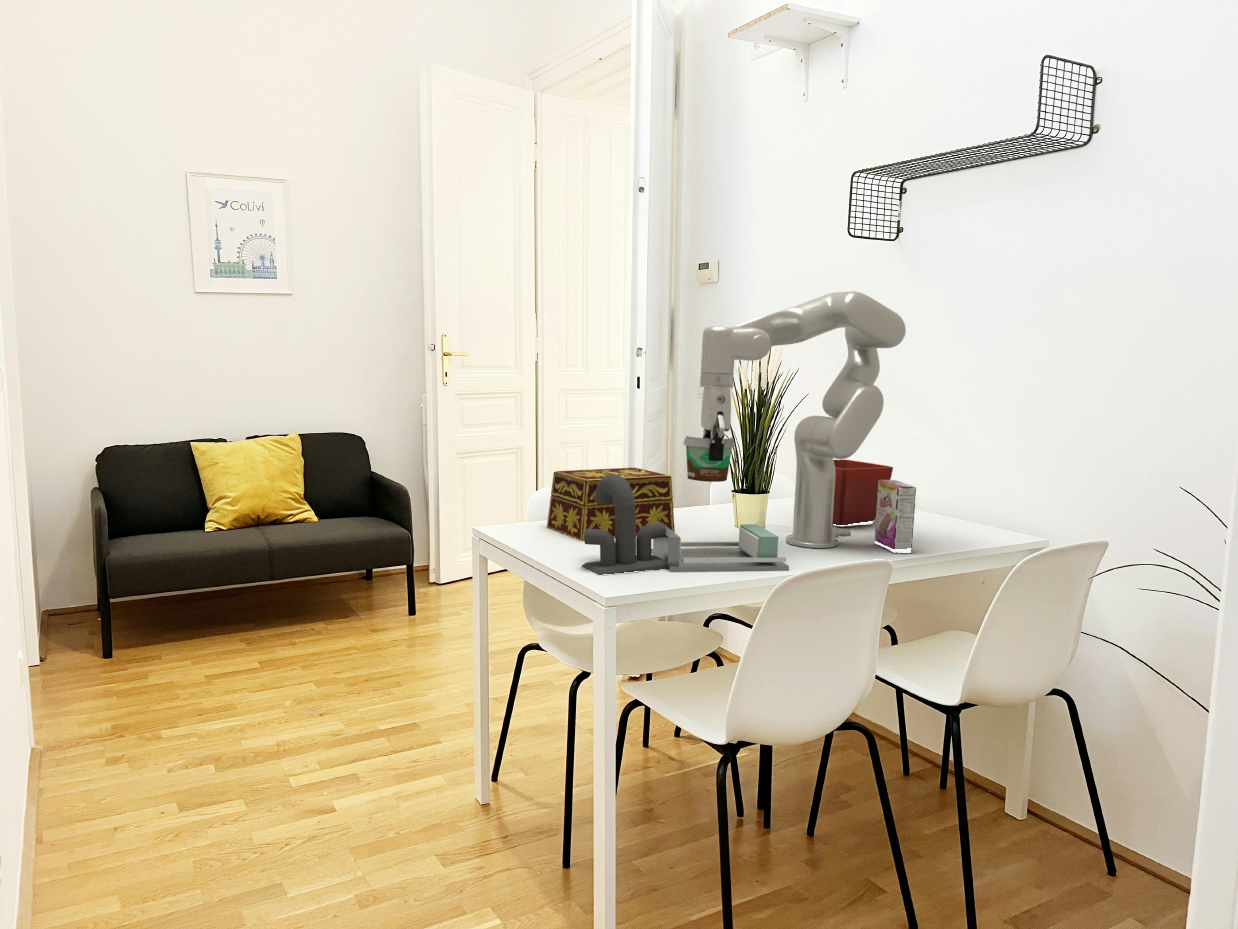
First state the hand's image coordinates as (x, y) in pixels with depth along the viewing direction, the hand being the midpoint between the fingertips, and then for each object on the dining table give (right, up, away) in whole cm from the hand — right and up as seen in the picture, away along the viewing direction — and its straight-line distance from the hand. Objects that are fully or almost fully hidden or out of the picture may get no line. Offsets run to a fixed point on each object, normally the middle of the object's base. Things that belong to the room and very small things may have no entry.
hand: (712, 458), depth 213 cm
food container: (0, -5, +1) cm, 5 cm away
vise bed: (0, -23, -8) cm, 24 cm away
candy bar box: (+45, -22, +12) cm, 52 cm away
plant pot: (+41, -18, +46) cm, 64 cm away
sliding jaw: (+9, -22, -6) cm, 25 cm away
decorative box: (-24, -19, +24) cm, 38 cm away
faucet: (-22, -24, -13) cm, 35 cm away
